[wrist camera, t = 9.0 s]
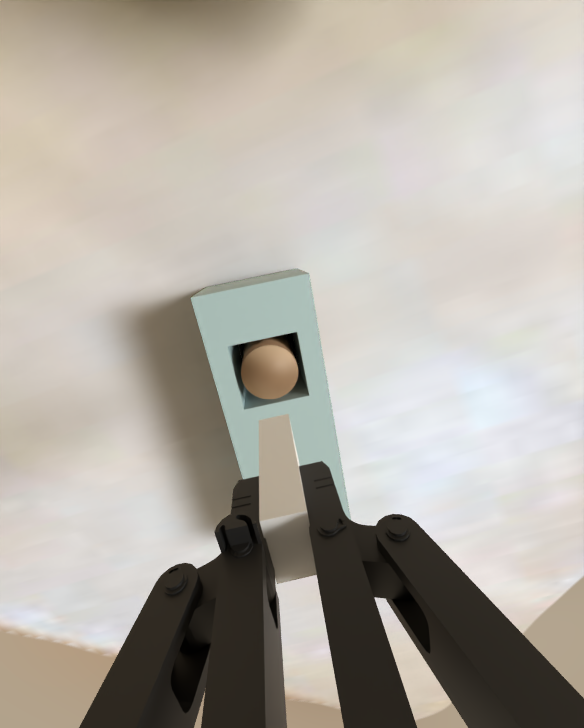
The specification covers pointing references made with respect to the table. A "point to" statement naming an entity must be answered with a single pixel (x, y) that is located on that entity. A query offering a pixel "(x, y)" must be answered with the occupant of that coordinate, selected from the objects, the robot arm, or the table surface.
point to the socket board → (311, 393)
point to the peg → (269, 367)
